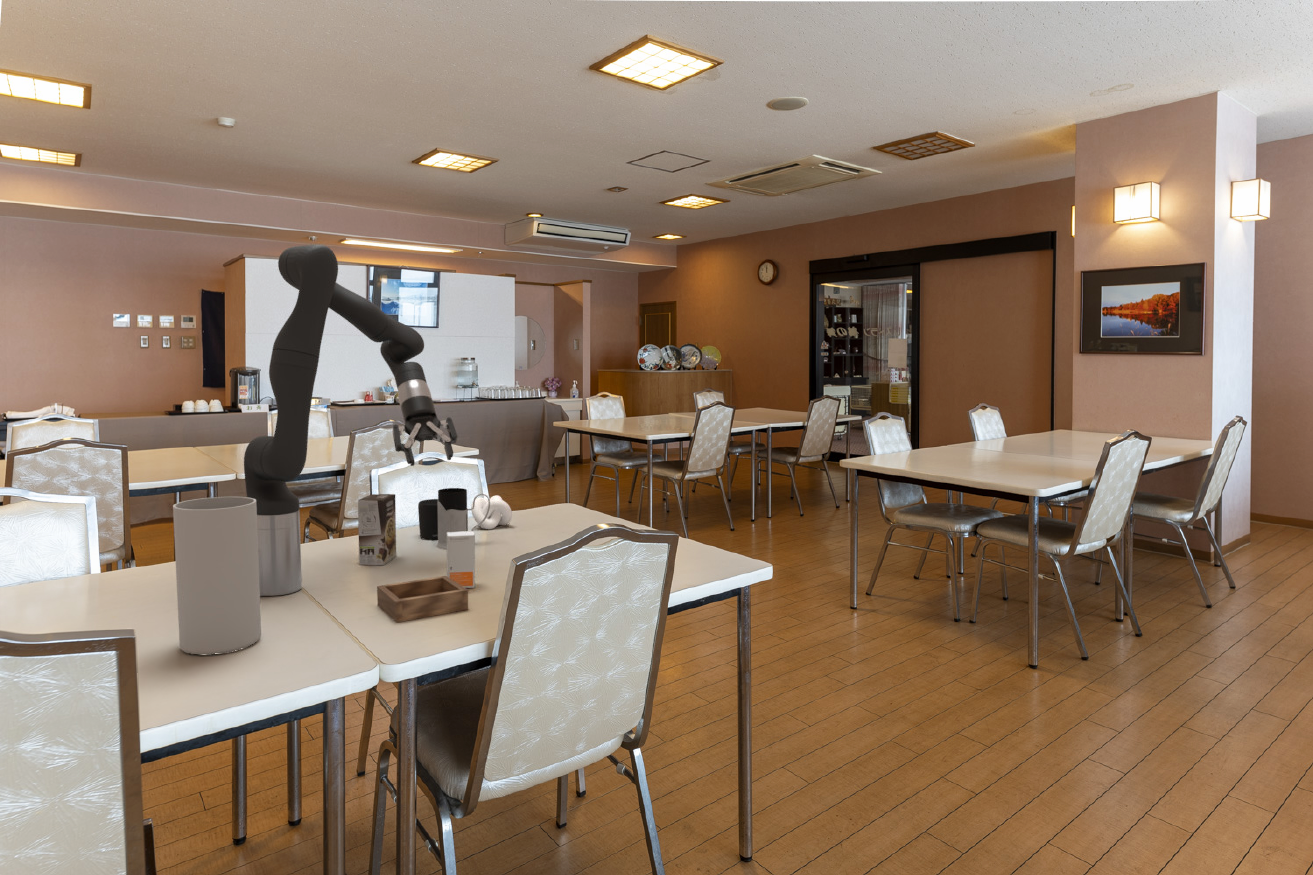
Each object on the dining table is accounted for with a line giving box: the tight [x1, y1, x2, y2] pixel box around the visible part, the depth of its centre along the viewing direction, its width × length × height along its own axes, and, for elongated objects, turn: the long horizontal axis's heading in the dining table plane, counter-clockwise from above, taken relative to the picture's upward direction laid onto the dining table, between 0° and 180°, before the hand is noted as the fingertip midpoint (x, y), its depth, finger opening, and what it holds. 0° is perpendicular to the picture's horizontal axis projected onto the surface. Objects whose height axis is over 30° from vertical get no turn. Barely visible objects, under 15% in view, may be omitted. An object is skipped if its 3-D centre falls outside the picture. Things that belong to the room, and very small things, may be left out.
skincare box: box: [446, 530, 476, 589], centre depth 174 cm, size 6×4×12 cm
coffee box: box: [357, 493, 397, 566], centre depth 195 cm, size 9×6×16 cm
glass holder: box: [436, 487, 490, 550], centre depth 212 cm, size 9×14×15 cm, turn 107°
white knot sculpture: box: [470, 494, 513, 530], centre depth 236 cm, size 11×12×9 cm
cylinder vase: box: [172, 496, 262, 655], centre depth 137 cm, size 12×12×25 cm
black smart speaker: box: [417, 498, 438, 541], centre depth 222 cm, size 9×9×10 cm
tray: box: [376, 575, 469, 623], centre depth 159 cm, size 14×12×4 cm
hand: (431, 461), depth 184 cm, fingers open, 8 cm apart
